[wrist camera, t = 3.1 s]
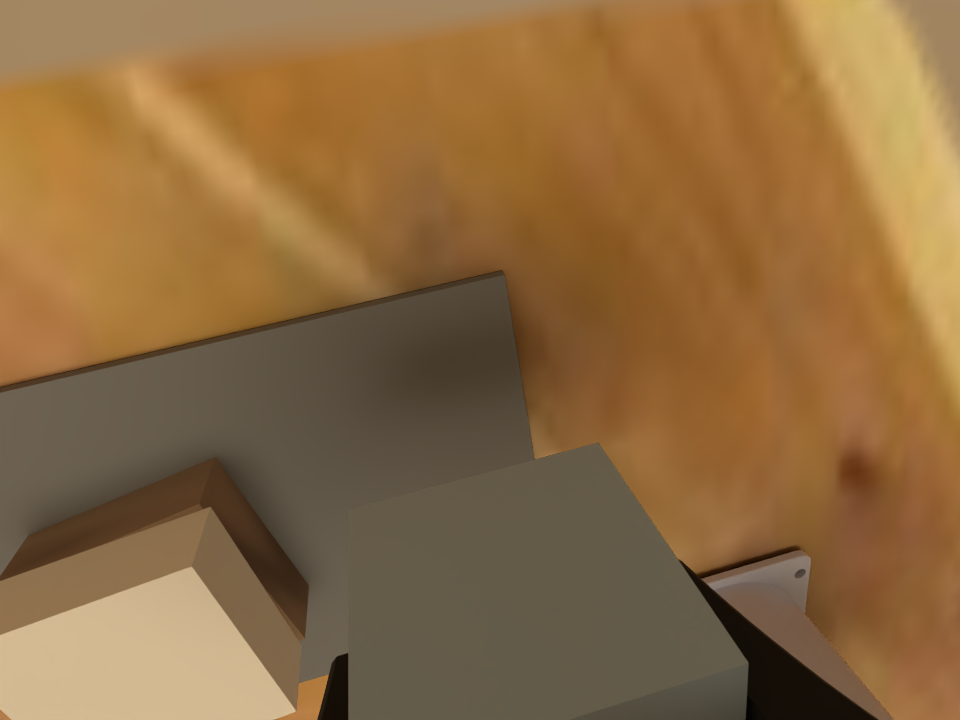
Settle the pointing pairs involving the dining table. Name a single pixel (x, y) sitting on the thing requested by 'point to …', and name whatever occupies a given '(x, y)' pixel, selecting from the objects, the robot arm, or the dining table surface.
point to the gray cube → (530, 605)
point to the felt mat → (282, 426)
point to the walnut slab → (166, 504)
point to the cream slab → (147, 633)
